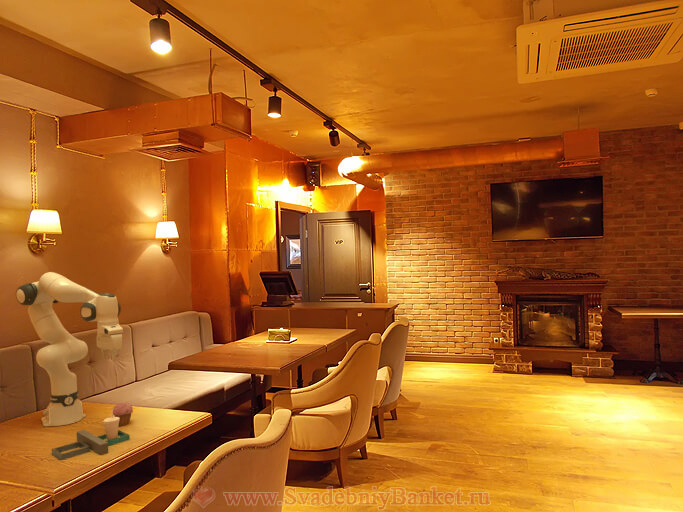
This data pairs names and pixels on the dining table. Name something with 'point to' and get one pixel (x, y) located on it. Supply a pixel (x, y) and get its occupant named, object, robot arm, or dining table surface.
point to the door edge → (93, 442)
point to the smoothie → (111, 427)
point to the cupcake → (123, 412)
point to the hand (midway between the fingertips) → (109, 359)
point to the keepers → (86, 446)
